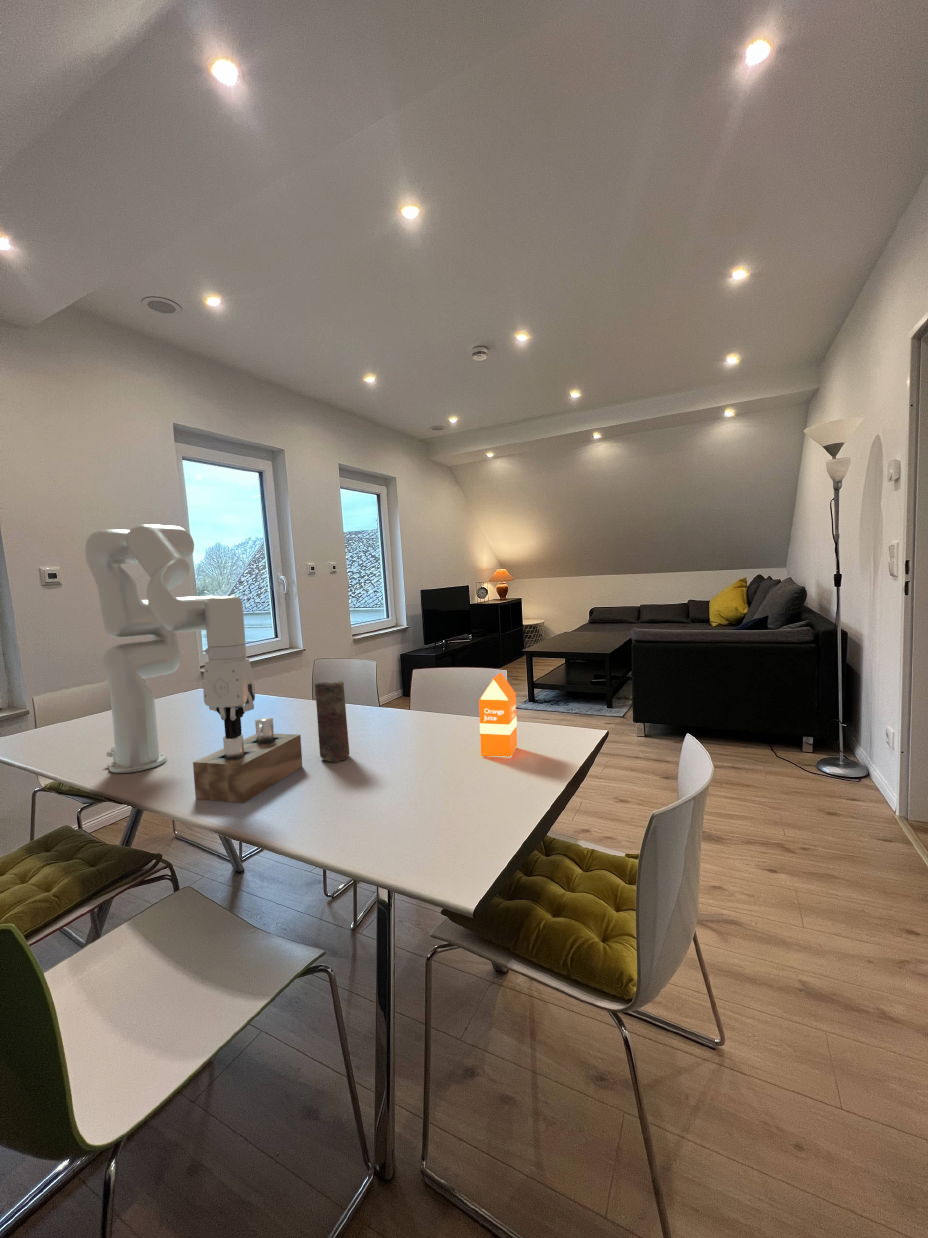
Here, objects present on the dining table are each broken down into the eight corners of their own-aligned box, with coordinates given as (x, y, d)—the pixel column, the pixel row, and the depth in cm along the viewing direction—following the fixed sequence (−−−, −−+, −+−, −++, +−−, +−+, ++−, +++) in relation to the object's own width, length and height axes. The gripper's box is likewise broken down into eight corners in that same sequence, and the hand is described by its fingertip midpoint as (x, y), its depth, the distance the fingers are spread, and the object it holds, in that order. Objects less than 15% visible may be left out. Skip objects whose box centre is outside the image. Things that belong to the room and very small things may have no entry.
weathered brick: (313, 760, 136) (308, 683, 135) (332, 752, 143) (328, 678, 141) (336, 764, 133) (331, 684, 131) (355, 755, 139) (351, 679, 138)
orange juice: (480, 757, 134) (477, 678, 133) (489, 746, 143) (486, 671, 141) (511, 758, 132) (508, 678, 131) (518, 747, 140) (515, 672, 139)
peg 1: (221, 770, 116) (218, 739, 116) (233, 764, 120) (231, 733, 120) (236, 771, 115) (234, 739, 115) (249, 765, 119) (246, 734, 119)
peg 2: (253, 750, 127) (251, 721, 126) (263, 745, 131) (262, 717, 130) (268, 751, 126) (266, 722, 125) (278, 746, 130) (276, 717, 129)
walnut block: (195, 798, 114) (192, 762, 114) (260, 763, 135) (258, 732, 135) (243, 803, 111) (241, 765, 111) (302, 766, 132) (300, 734, 132)
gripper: (185, 656, 114) (192, 740, 115) (245, 655, 110) (252, 743, 111) (210, 651, 121) (217, 731, 123) (268, 650, 117) (273, 733, 119)
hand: (233, 736), depth 117 cm, fingers closed
